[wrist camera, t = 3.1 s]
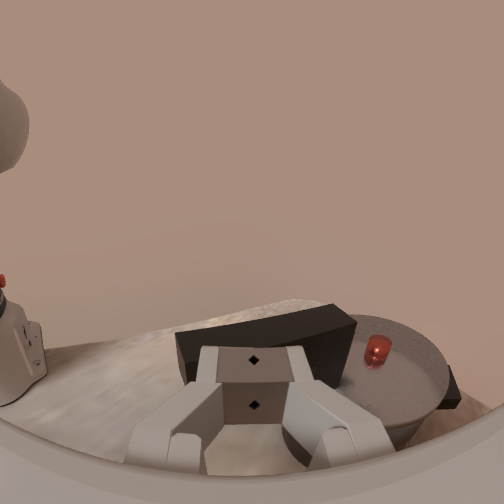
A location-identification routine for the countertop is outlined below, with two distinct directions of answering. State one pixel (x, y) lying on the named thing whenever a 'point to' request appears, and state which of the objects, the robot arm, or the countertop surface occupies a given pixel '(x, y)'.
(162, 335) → the countertop surface
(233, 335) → the pressure cooker lid
